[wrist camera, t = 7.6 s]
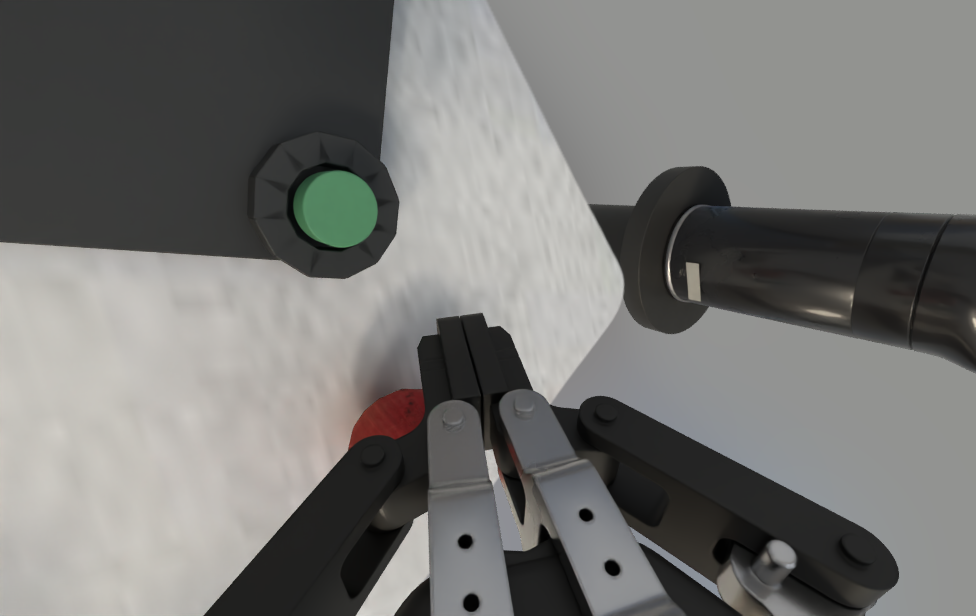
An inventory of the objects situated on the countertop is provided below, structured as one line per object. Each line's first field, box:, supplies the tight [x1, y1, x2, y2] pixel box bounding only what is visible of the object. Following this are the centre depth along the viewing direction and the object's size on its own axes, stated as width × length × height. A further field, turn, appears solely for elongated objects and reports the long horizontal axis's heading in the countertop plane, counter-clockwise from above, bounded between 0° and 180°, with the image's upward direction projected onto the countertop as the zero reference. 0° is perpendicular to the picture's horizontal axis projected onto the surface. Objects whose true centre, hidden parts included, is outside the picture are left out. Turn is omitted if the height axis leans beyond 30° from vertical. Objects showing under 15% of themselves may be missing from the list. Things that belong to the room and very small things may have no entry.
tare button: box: [293, 170, 378, 247], centre depth 18 cm, size 3×3×2 cm
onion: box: [348, 389, 425, 450], centre depth 22 cm, size 6×6×8 cm
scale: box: [0, 0, 399, 279], centre depth 15 cm, size 16×14×3 cm
